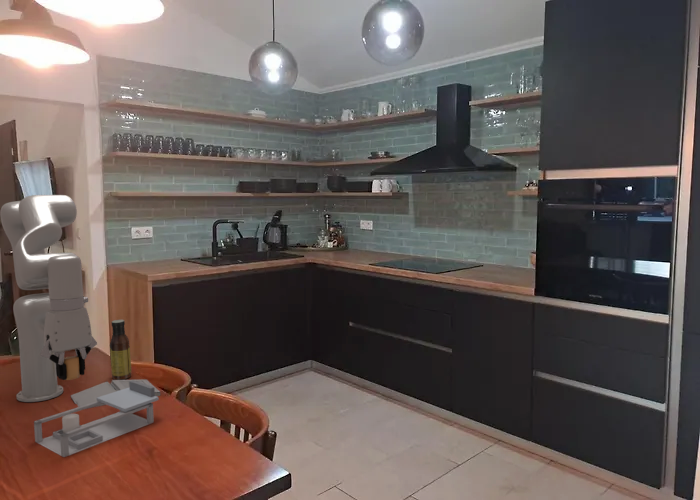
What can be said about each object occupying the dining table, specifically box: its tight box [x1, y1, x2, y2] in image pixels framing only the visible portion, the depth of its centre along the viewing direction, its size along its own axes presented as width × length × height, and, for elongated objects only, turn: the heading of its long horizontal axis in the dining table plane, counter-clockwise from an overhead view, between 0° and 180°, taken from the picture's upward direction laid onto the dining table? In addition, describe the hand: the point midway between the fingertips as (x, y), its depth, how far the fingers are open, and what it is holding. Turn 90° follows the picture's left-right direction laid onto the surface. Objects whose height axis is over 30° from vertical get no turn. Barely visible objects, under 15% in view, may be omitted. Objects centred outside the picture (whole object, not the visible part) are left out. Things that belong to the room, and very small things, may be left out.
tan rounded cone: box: [64, 355, 81, 381], centre depth 136 cm, size 4×4×5 cm
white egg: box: [61, 413, 80, 435], centre depth 137 cm, size 4×4×5 cm
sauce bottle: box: [109, 319, 132, 380], centre depth 183 cm, size 6×6×20 cm
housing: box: [33, 401, 155, 458], centre depth 140 cm, size 14×24×6 cm, turn 145°
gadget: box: [70, 378, 161, 410], centre depth 167 cm, size 23×15×4 cm, turn 127°
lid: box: [96, 379, 160, 412], centre depth 147 cm, size 13×10×3 cm
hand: (71, 375), depth 136 cm, fingers closed on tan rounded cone, 3 cm apart
